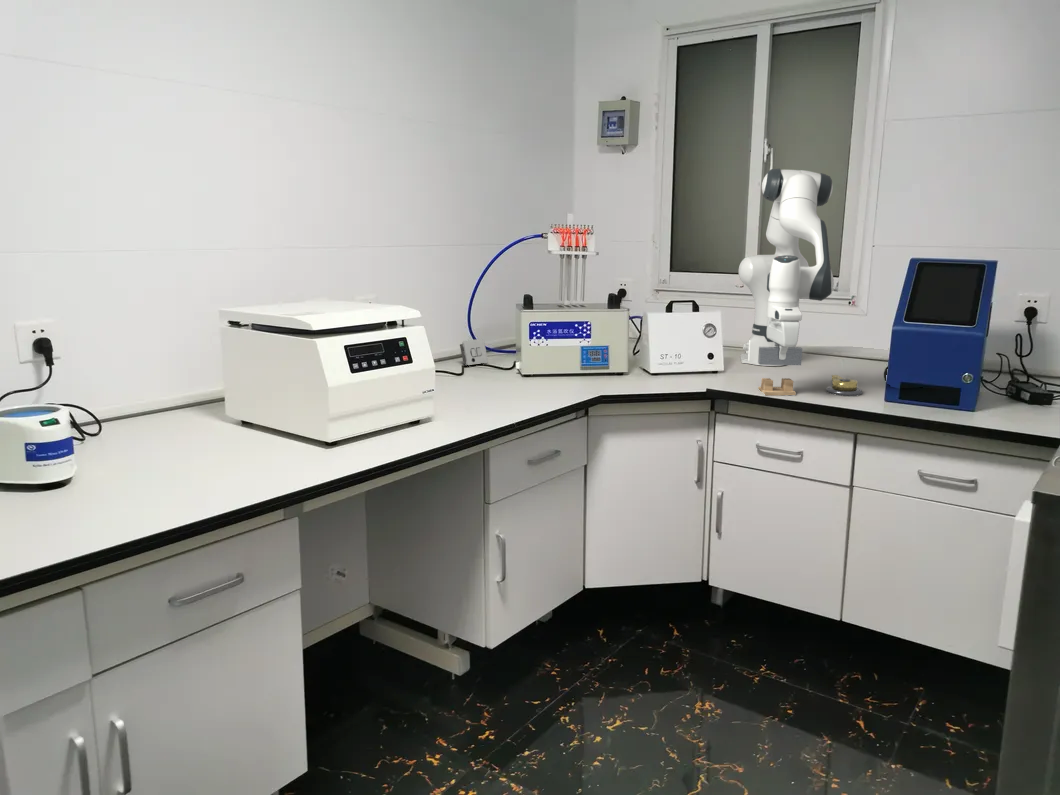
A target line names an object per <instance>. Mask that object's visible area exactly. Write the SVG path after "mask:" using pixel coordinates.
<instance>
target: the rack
mask: <svg viewBox="0 0 1060 795" xmlns="http://www.w3.org/2000/svg"><path fill="white" fill-rule="evenodd" d="M760 384H761V385H760V386H758V387H757V390H758V389H759V390H760V391H761V392H763V393H764V394H765V395H764V394H763V393H762V394H763V395H764V396H784V395H795V396H796V394H797V393H796V391H795V390H794V380H792V378H785V377H784V378H783V377H782V378H781V382H780V386H774V380H773V379H771V378H770V377H767V378H766V377H763V378H762V377H761V383H760ZM759 390H758V391H759ZM760 391H759V392H760ZM761 392H760V393H761Z"/></svg>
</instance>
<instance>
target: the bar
mask: <svg viewBox="0 0 1060 795" xmlns="http://www.w3.org/2000/svg"><path fill="white" fill-rule="evenodd" d="M779 352H780V347H759V355H758V363H759V364H760V365H759V366H763V365H782V366H802V359H803V358H802V357H803V348H802V347H800V346H795V347H788V350H787V352H786V358H785V359H779V358H778V354H779Z"/></svg>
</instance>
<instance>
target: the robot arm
mask: <svg viewBox="0 0 1060 795" xmlns="http://www.w3.org/2000/svg"><path fill="white" fill-rule="evenodd" d="M833 187H834V185H833V179H832V177H831V176H830V175H828V174H826V173H823V172H820V173H818V172H815V171H811V170H804V169H800V170H799V169H781V168H773V169H770V170H768V171H767V172H766V174H765V176H764V177H763V180H762V183H761V192H762V196H763V198H764V199H765V200H766V201H770V202H773V203H772V207H771V209H770V214H769V219H768V223H767V227H766V232H765V236H766V239H767V241H768V242H769V243H770V245H773V247H775V252H774V254H755V255H750V256H747V257H745V258H743V259H742V260H741V261H740V264H739V267H738V270H737V271H738V272H737V273H738V277H739V280H740V281H741V282H742V283H743V284H744V285H745V286H746V287H747V288H748V289H749V291H750V293H751V295H752V298H753V302H754V323H753V324H752V328H751V333H752V334H751V336H750V338H749V339H748V341H747V342H746V343H743V344H742V350H743V351H745V353H741V354H740V362H741V363H742V364H747V365H749V364H750V365H754V366H755V365H756V366H761V365H760V364H759V363H758V355H759V347H780V352H779V354H778V358H779V359H785V358H786V352H787V350H788V347H797V344H798V341H799V333H800V321H802V320H803V314H802V312H801V310H800V299H803V300H813V301H818V302H820V301H821V302H822V301H823V300H825V299H827V298H829V296H830V295H832V293H833V290H834V284H835V282H834V275H833V271H832V269H831V268H832V267H831V256H830V246H829V244H830V242H829V237H828V229H827V225H826V222H825V221H824V220H823V219H821V218H820V217H819V216H818V213H817V207H823V206H824V205H825V204H827V203H828V201H829V200H830V198H831V196H832V194H833ZM800 239H802V240H805V241H807V242H809V244H812V246H814V251H815V261H816V262H815V263H816V264H815V265H812V266H809V263H808V260H807V258H805V257H804V256H803V254H802V253H801V250H800V246H799V244H800V243H799V242H800ZM762 366H763V367H764V366H768V367H781V366H783V365H762Z"/></svg>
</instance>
